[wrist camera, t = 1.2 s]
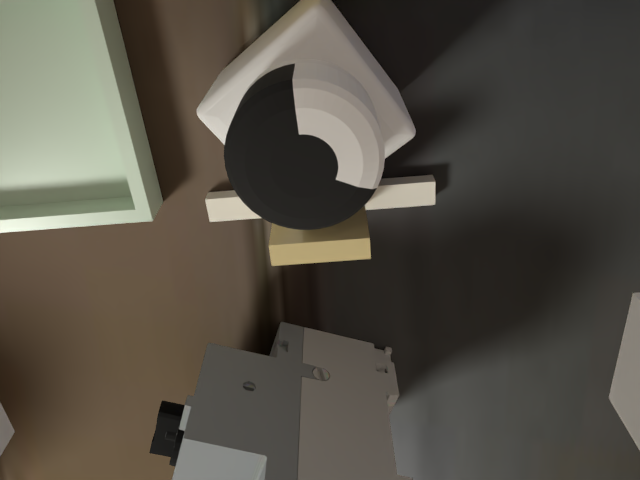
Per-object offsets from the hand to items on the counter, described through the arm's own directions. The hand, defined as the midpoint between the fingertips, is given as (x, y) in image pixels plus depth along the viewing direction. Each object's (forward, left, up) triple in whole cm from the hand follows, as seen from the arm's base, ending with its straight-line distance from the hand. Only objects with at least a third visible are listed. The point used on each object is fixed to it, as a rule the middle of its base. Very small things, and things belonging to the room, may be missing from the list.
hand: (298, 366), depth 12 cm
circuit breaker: (-4, -20, -23) cm, 30 cm away
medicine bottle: (0, 0, -23) cm, 23 cm away
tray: (-16, 0, -22) cm, 28 cm away
